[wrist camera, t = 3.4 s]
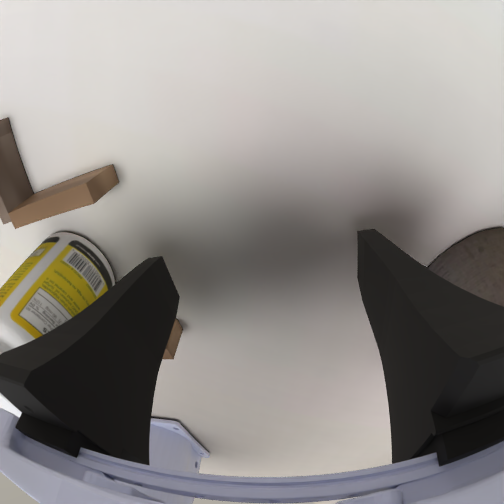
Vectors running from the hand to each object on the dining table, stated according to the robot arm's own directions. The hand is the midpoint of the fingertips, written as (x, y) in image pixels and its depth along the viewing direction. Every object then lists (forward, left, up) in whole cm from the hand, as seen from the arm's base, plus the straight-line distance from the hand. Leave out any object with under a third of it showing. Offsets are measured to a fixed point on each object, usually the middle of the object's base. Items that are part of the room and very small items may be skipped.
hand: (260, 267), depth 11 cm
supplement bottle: (0, +10, -2) cm, 10 cm away
